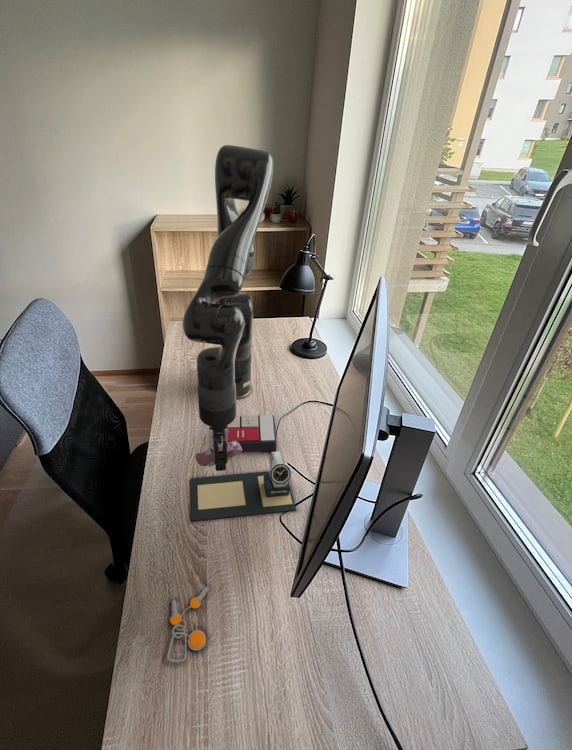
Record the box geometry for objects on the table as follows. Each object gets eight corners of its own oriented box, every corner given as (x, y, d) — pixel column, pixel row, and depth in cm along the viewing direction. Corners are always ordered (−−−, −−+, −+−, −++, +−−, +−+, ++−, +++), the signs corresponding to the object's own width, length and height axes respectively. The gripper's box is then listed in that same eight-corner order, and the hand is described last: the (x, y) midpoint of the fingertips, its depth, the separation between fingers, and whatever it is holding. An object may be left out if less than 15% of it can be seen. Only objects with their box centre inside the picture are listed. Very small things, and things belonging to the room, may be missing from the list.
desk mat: (191, 479, 100) (191, 477, 100) (285, 470, 103) (285, 469, 102) (191, 521, 90) (191, 519, 90) (296, 510, 93) (296, 508, 92)
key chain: (203, 664, 67) (203, 662, 67) (160, 662, 68) (160, 660, 67) (211, 587, 78) (211, 585, 78) (174, 586, 78) (173, 584, 78)
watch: (267, 504, 93) (269, 472, 87) (262, 477, 100) (263, 445, 94) (291, 502, 94) (295, 470, 88) (284, 475, 101) (287, 444, 94)
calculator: (221, 414, 115) (273, 412, 114) (222, 425, 117) (273, 423, 117) (219, 441, 106) (276, 439, 105) (220, 453, 108) (276, 451, 108)
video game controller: (200, 475, 87) (204, 465, 82) (193, 456, 89) (196, 445, 83) (240, 460, 91) (247, 449, 85) (233, 442, 93) (239, 430, 87)
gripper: (240, 420, 73) (240, 480, 83) (232, 375, 85) (233, 432, 95) (199, 423, 73) (203, 484, 82) (197, 377, 84) (201, 435, 94)
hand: (219, 456), depth 88 cm, fingers closed on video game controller, 7 cm apart
